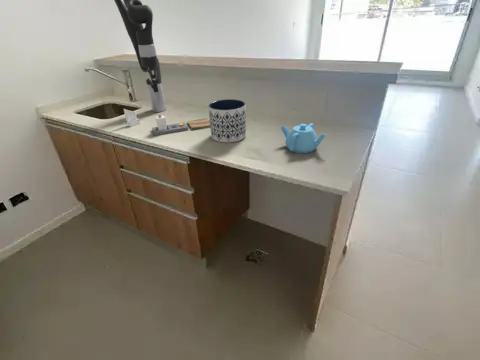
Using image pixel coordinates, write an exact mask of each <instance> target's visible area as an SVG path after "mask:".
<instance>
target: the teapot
mask: <svg viewBox="0 0 480 360" xmlns="http://www.w3.org/2000/svg"><path fill="white" fill-rule="evenodd" d="M314 127H315V125H314V123H312V122H311V123H309V124H306V123H300V124H299V125H295V126H293V128H291V129H290V131H289V130H288V128H287V127H286V125H283V126H282V127H280V129H281V131H282V134H283V135H284V137H285V147H287V149H288V150H289V151H291V152H293V153H296V154H308V153H309V152H310V153H313V151H315V150H316V149H317V147H319V145H320V144H321V143H322V141H323V140H324V139H325V138H326V137H327V134H326V133H322V134H321V135H320V136H319V137H318V135H317V133H316V131H315V130H314Z"/></svg>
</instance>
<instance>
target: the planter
mask: <svg viewBox="0 0 480 360" xmlns="http://www.w3.org/2000/svg"><path fill="white" fill-rule="evenodd" d="M246 104H247V103H246V102H245V101H243V100H242V99H241V100H239V99H233V98H232V99H231V98H230V99H218V100H215V101H212V102H210V103H209V104H208V106H207V107H208V115H209V119H208V120H209V121H210V127H209V128H210V137H211V138H212V140H214V141H216V142H220V143H235V142H239V141H241V140H244V139H245V138H246V136H247V107H246V106H247V105H246Z"/></svg>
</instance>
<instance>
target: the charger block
mask: <svg viewBox="0 0 480 360" xmlns="http://www.w3.org/2000/svg"><path fill="white" fill-rule="evenodd" d="M155 121H156V127H158V130H157V132H158V131H164V130H168V128H167V125H168V124H167V121H166V116H165V115H162V114H159V115H158V116H155Z"/></svg>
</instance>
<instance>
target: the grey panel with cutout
mask: <svg viewBox="0 0 480 360" xmlns="http://www.w3.org/2000/svg"><path fill="white" fill-rule="evenodd" d="M166 125H167V130H164V131H158V126H153V127H151V130H152V133H153V135H155V136H160V134H161V135H167V134H172V133H177V132H178V133H179V132H183V131H189V127H188V124H186V123H185V122H178V123H171V124H166Z"/></svg>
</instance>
